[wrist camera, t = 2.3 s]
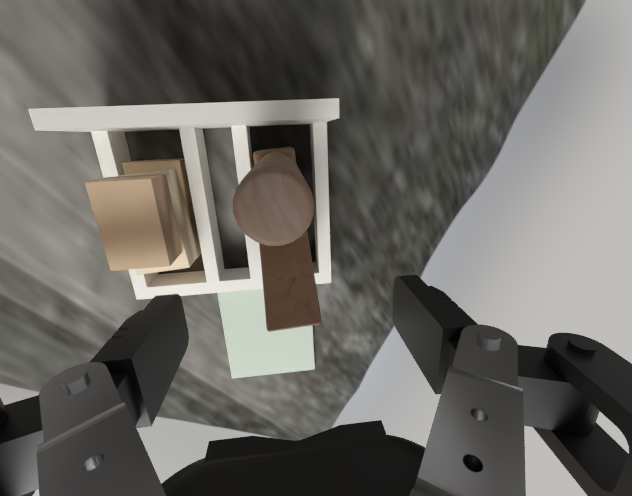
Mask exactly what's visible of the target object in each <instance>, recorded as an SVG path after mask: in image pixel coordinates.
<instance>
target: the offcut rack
mask: <svg viewBox="0 0 632 496" xmlns="http://www.w3.org/2000/svg"><path fill="white" fill-rule="evenodd" d="M28 110H29V113H30V116H31V120H32V123H33V126H34V129H35V130H43V131H81V132H91V133H92V137H93V141H94V144H95V148H96V152H97V155H98V159H99V163H100V166H101V170H102V174H103V177H104V178H106V177H116V176H120V175H125V173H124V169H123V165H122V163H125V162H131V157H130V152H129V148H128V144H127V140H126V136H125V132H130V131H154V130H178V129H179V131H180V137H181V142H182V148H183V153H184V159H185V165H186V170H187V176H188V181H189V187H190V192H191V198H192V203H193V209H194V214H195V220H196V225H197V231H198V236H199V242H200V247H201V253H202V258H203V264H204V270H205V271H194V272H182V273H169V274H158V272H155V273H148V274H141V275H137V274H136V271H135V269H129V273H130V276H131V280H132V284H133V287H134V291H135V295H136V298H137V300H138V299H150V298H154V297H155V296H159V295H171V294H179V295H180V296H184V295H196V294H208V293H219V292H231V291H243V290H254V289H263V279H262V267H261V255H260V243H258V242H255V241H254V240H253V239H251V238H250V237H248V236H247V235H245V239H246V247H247V255H248V263H249V267H244V268H232V269H225V268H224V262H223V255H222V249H221V242H220V236H219V230H218V223H217V217H216V210H215V204H214V198H213V191H212V185H211V178H210V172H209V166H208V159H207V153H206V147H205V140H204V134H203V128H226V127H231V128H232V136H233V144H234V152H235V160H236V168H237V176H238V184H240V182H241V181H242V179H243V178H244V177H245V176H246V175H247V174H248V172H249V171H250V170H251V169H252V168H253V167H254V165H253V156H252V147H251V138H250V128H249V127H250V126H274V125H299V124H310V142H311V164H312V186H313V199H314V202H315V204H314V230H315V252H316V262H312V264H313V270H314V276H315V283H316V284H324V283H331V255H330V219H329V183H328V147H327V122H329V121H332V120H335V119H338V118H339V98H332V99H303V100H274V101H245V102H217V103H188V104H159V105H130V106H101V107H72V108H43V109H28Z"/></svg>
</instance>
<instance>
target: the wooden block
mask: <svg viewBox="0 0 632 496" xmlns="http://www.w3.org/2000/svg"><path fill="white" fill-rule="evenodd" d="M253 159H254V165H255V166H254V167H253V168H252V169H251V170H250V171H249V172H248V174H247V175H246V176H245V177H244V178H243V179H242V181H241V182H240V184H239V185H238V186H237V188H236V191H235V194H234V198H233V214H234V216H235V219H236V221H237V224H238V226H239V227H240V228H241V230H242V231H243V232H244V233H245V235H247V236H248V237H250V238H251V239H253V240H254V241H255V242H258V243H260V255H261V267H262V279H263V291H264V303H265V315H266V327H267V330H268V332H272V331H278V330H285V329H292V328H298V327H305V326H312V325H318V324H321V314H320V308H319V302H318V295H317V289H316V283H315V276H314V270H313V264H312V257H311V251H310V245H309V238H308V232H307V229H308V228H309V226H310V224H311V221H312V219H313V216H314V204H315V202H314V199H313V195H312V191H311V189H310V187H309V186H308V184H307V182H306V180H305V178H304V177H303V175H302V173H301V171H300V170H299V168H298V166H297V164H296V156H295V150H294V148H293V147H291V146H287V147H279V148H270V149H262V150H257V151H255V152H254V153H253Z"/></svg>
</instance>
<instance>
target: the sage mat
mask: <svg viewBox="0 0 632 496" xmlns="http://www.w3.org/2000/svg"><path fill="white" fill-rule="evenodd" d="M218 299H219V305H220V311H221V317H222V322H223V328H224V334H225V340H226V346H227V352H228V358H229V364H230V369H231V375H232V378H241V377H250V376H259V375H268V374H277V373H286V372H295V371H304V370H314V369H315V364H314V345H313V327H312V326H305V327H298V328H292V329H285V330H278V331H272V332H268V330H267V327H266V315H265V303H264V291H263V289H254V290H243V291H231V292H219V293H218Z"/></svg>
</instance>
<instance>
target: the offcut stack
mask: <svg viewBox="0 0 632 496" xmlns="http://www.w3.org/2000/svg"><path fill="white" fill-rule="evenodd" d="M122 165H123V169H124V173H125V175H120V176H116V177H106V178H102V179H98V180H93V181H89V182H85V185H86V189H87V192H88V195H89V199H90V202H91V206H92V209H93V212H94V216H95V219H96V222H97V226H98V229H99V233H100V236H101V239H102V243H103V246H104V249H105V253H106V256H107V260H108V263H109V266H110V270H111V271H116V270H128V269H135V271H136V274H137V275H141V274H148V273H155V272H162V271H169V270H176V269H183V268H190V267H191V265H192V264H193V262H194V261H195V259H198V257H199V256H200V254H201V247H200V242H199V236H198V231H197V225H196V220H195V214H194V209H193V203H192V198H191V192H190V187H189V181H188V176H187V170H186V165H185V159H184V158H176V159H156V160H137V161H131V162H125V163H122Z"/></svg>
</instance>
